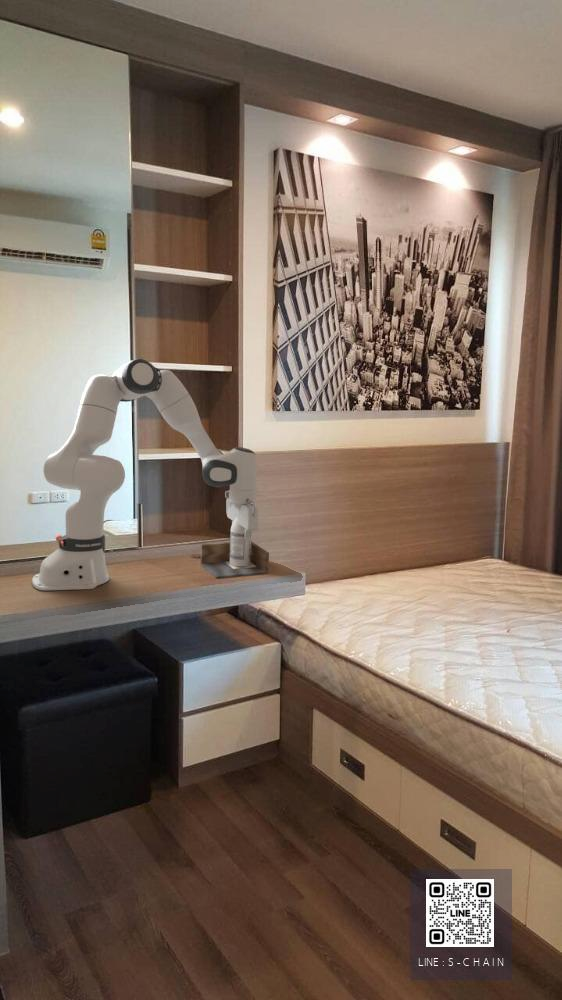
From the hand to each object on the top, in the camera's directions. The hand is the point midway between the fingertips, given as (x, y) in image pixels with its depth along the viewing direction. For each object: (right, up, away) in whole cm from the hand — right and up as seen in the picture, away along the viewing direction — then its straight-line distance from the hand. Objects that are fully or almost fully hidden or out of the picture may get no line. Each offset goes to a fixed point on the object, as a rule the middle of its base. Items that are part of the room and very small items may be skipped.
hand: (241, 537), depth 240 cm
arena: (-2, -11, -1) cm, 11 cm away
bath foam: (-1, -9, +2) cm, 10 cm away
